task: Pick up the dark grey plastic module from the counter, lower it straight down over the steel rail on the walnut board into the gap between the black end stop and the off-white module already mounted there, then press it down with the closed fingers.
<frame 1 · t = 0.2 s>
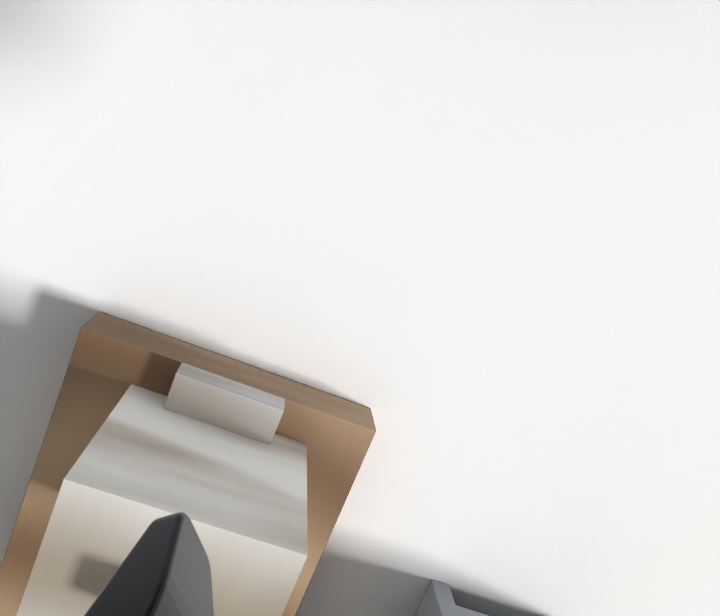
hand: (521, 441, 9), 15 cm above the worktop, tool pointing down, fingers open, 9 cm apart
rail board: (156, 575, 26), on the worktop
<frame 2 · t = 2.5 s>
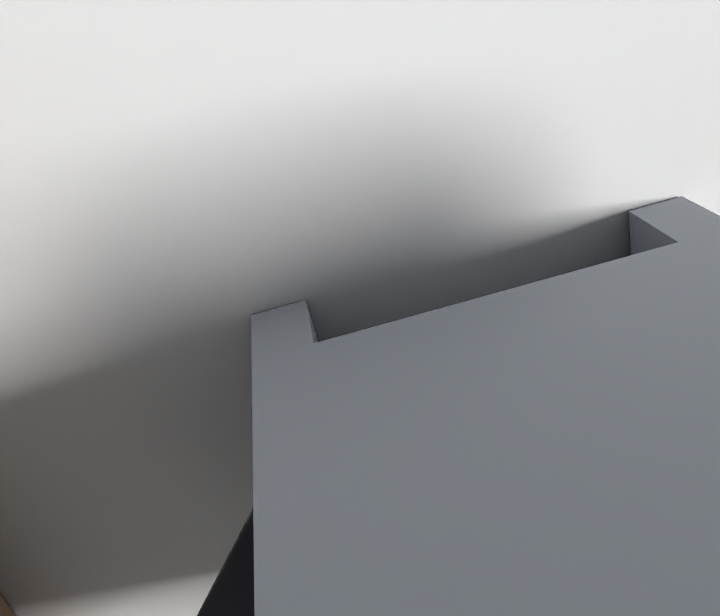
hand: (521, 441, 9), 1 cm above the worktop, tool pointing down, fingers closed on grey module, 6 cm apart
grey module: (491, 390, 10), on the worktop, touching gripper
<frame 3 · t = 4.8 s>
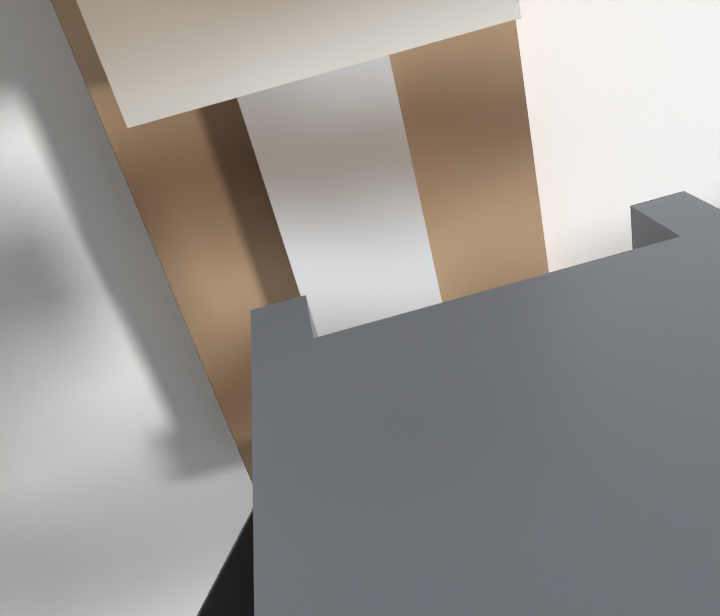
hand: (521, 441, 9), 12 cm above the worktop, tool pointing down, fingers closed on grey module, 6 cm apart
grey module: (492, 386, 10), point 11 cm above the worktop, touching gripper
rail board: (329, 152, 19), on the worktop
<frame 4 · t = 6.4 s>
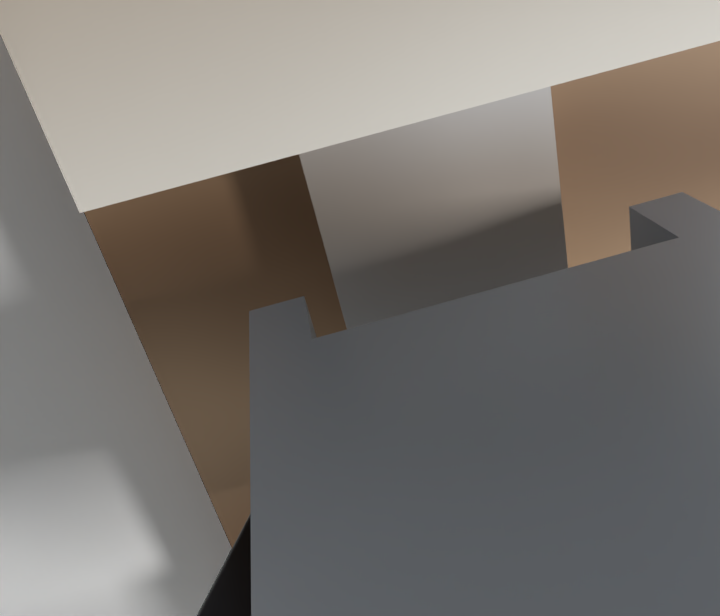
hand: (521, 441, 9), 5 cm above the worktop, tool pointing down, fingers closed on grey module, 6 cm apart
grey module: (490, 387, 10), point 4 cm above the worktop, touching gripper
rail board: (406, 191, 13), on the worktop
when the fingers open (5 cm above the worktop, at t = 7.4 s): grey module drops 2 cm, resting on rail board.
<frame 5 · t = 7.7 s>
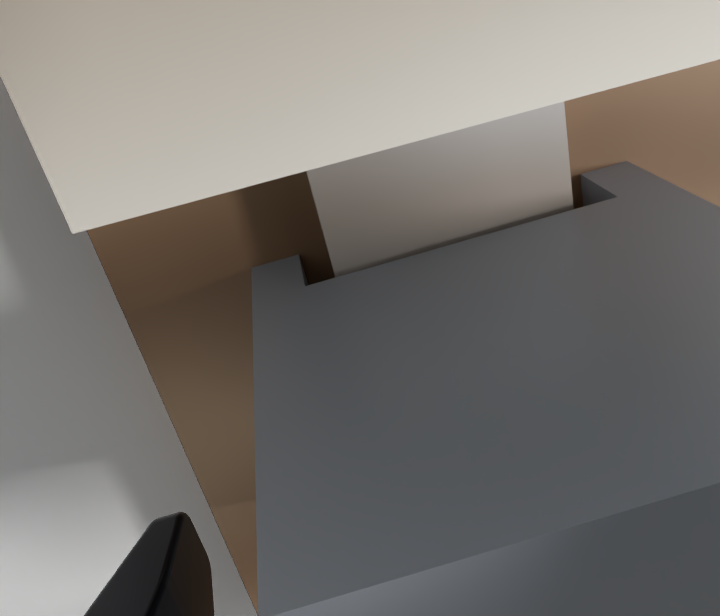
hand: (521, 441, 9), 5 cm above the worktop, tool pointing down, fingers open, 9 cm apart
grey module: (464, 337, 12), point 2 cm above the worktop, touching rail board
rail board: (412, 196, 12), on the worktop
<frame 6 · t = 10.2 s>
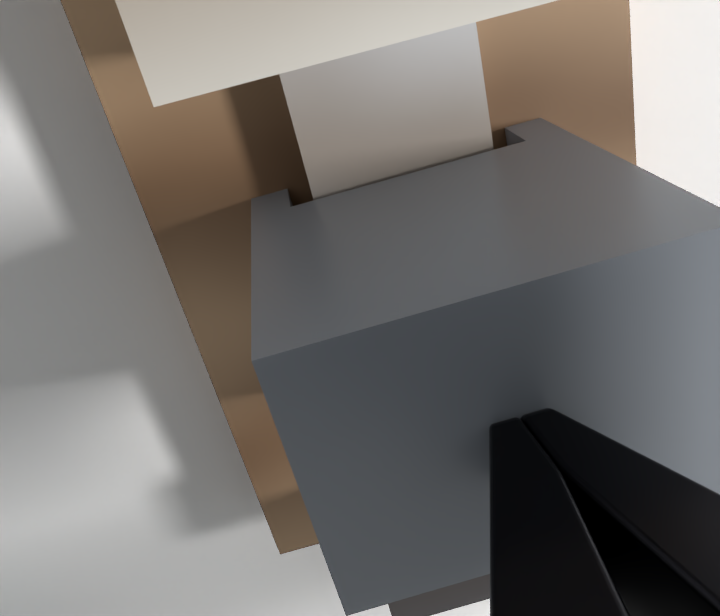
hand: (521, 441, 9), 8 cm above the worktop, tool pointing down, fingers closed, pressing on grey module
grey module: (418, 258, 15), point 2 cm above the worktop, touching gripper, rail board
rail board: (380, 151, 16), on the worktop
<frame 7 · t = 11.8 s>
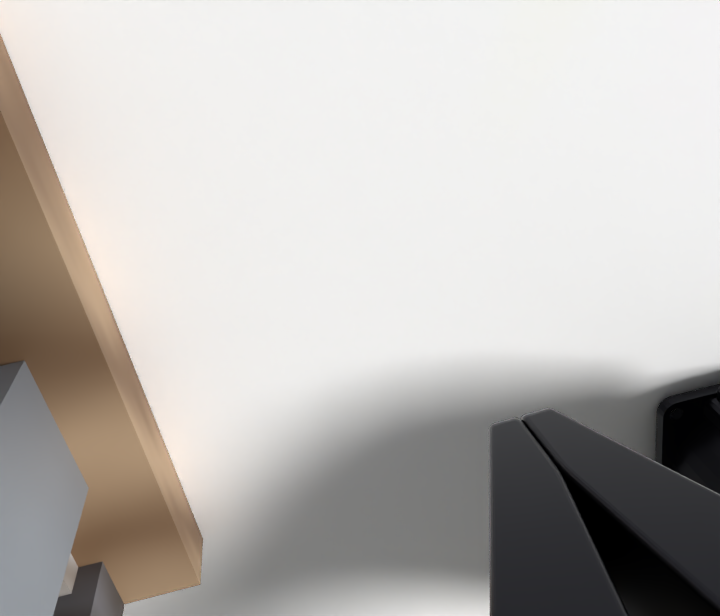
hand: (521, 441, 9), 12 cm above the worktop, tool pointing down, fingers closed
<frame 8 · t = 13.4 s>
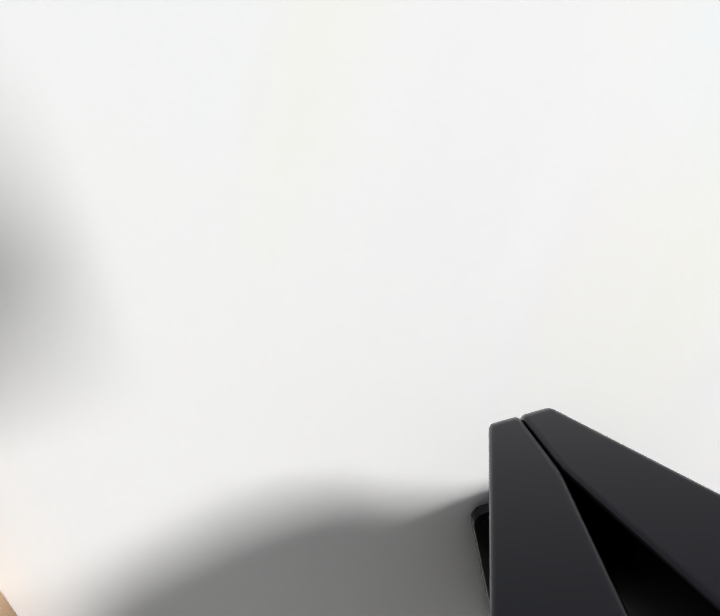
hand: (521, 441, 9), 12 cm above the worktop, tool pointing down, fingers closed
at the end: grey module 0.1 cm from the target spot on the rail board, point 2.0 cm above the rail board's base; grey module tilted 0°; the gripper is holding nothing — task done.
